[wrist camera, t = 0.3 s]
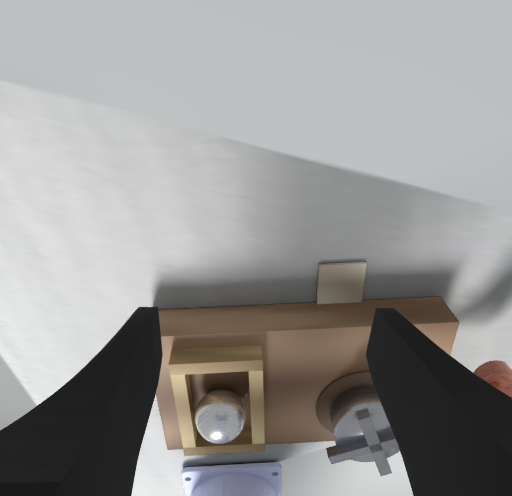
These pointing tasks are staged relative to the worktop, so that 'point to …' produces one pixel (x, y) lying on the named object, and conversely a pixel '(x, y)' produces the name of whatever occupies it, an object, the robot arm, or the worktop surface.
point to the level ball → (220, 416)
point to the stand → (279, 360)
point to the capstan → (384, 420)
